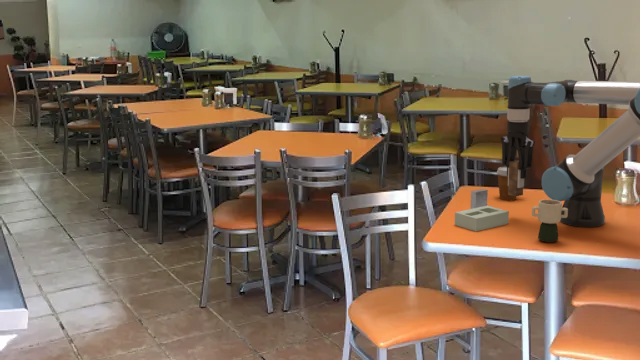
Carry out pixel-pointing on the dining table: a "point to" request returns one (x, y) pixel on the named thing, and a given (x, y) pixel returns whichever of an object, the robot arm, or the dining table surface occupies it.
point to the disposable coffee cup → (504, 184)
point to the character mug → (549, 218)
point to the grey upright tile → (479, 198)
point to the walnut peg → (514, 179)
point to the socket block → (481, 218)
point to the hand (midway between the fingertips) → (515, 186)
